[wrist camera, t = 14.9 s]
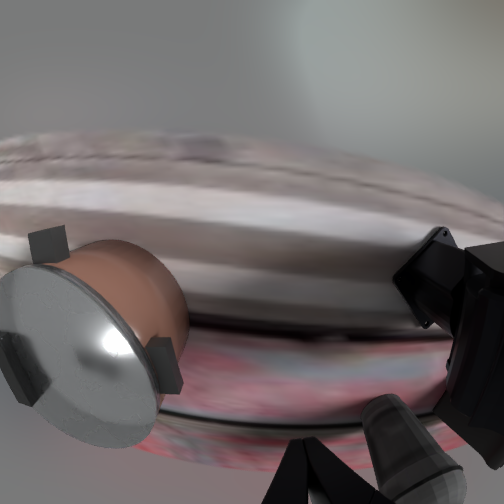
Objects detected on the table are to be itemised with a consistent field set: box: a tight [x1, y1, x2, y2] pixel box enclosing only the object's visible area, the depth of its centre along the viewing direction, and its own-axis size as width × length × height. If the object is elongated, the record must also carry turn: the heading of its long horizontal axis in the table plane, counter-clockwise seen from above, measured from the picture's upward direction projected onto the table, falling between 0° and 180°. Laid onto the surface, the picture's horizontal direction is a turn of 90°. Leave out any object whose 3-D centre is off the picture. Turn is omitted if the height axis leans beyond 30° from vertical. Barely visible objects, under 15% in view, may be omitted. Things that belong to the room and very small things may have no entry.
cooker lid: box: [0, 264, 160, 448], centre depth 12 cm, size 12×12×2 cm
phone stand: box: [433, 390, 504, 470], centre depth 17 cm, size 9×6×12 cm, turn 74°
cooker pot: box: [28, 225, 189, 409], centre depth 17 cm, size 13×16×8 cm
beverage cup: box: [361, 394, 467, 504], centre depth 13 cm, size 7×7×20 cm
